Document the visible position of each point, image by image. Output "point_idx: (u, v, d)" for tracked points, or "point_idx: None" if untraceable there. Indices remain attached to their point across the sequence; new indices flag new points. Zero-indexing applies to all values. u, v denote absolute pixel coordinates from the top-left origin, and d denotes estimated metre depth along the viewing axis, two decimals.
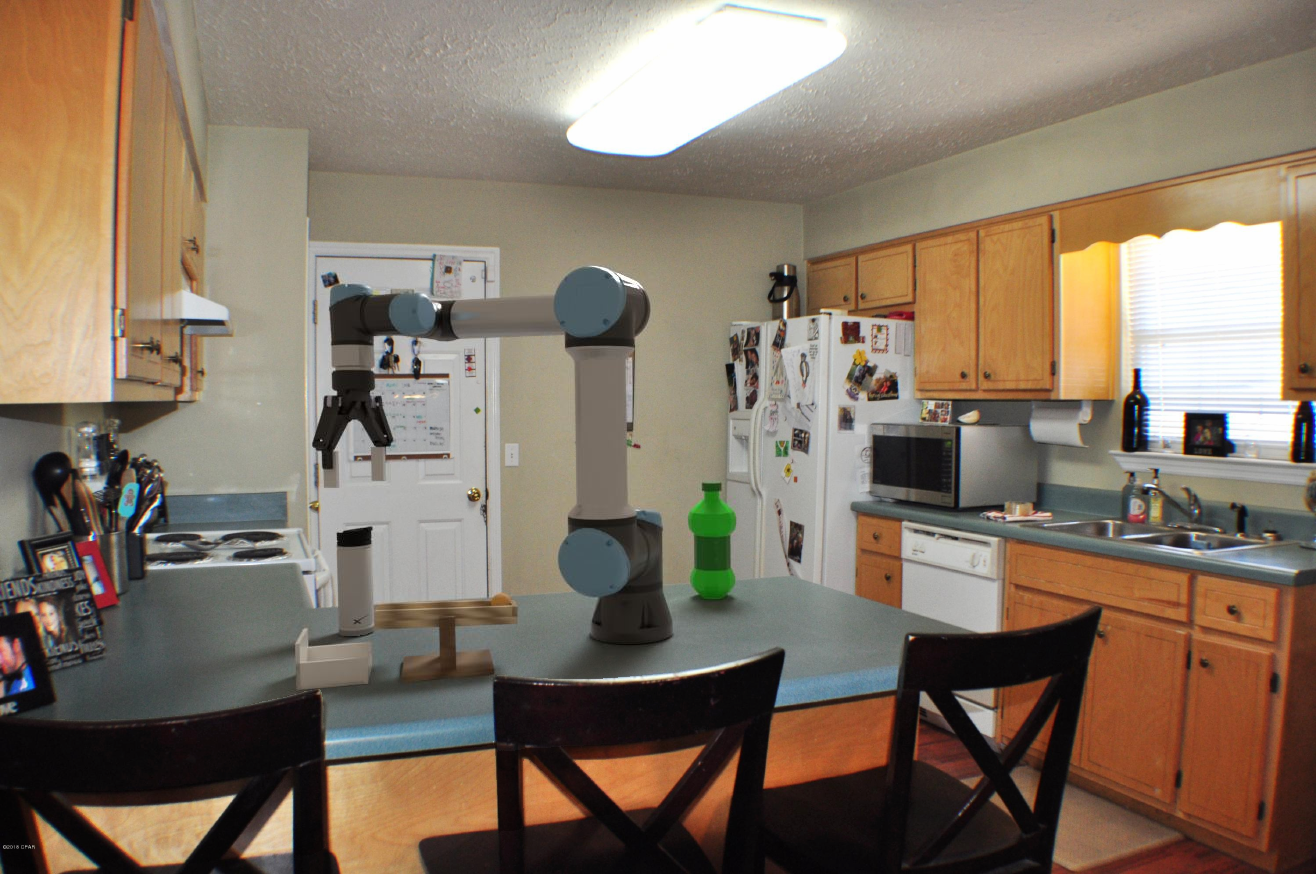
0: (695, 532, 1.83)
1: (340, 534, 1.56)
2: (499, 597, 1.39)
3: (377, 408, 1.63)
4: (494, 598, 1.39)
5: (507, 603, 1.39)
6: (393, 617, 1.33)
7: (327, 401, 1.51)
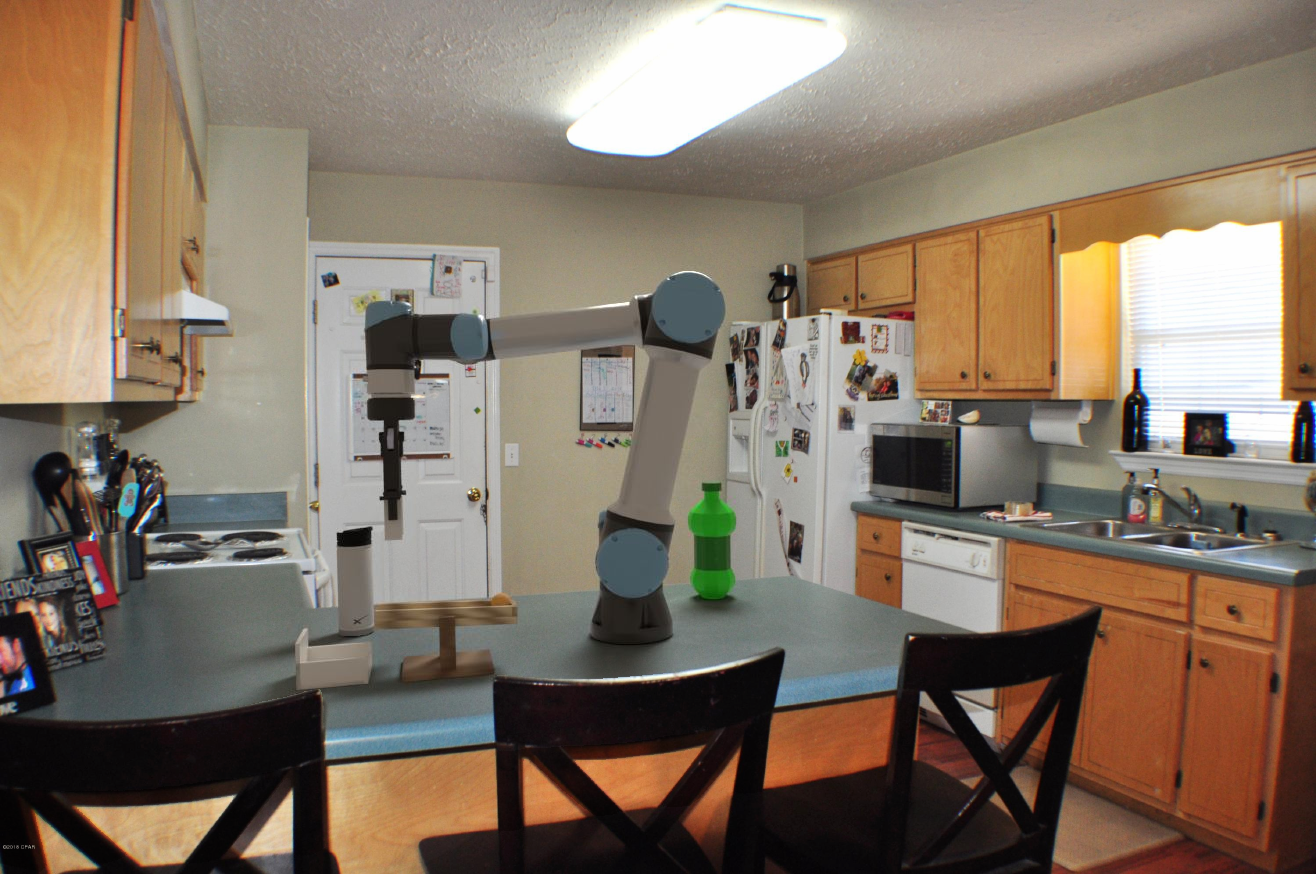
0: (695, 532, 1.83)
1: (340, 534, 1.56)
2: (499, 597, 1.39)
3: None
4: (494, 598, 1.39)
5: (507, 603, 1.39)
6: (393, 617, 1.33)
7: (388, 444, 1.34)
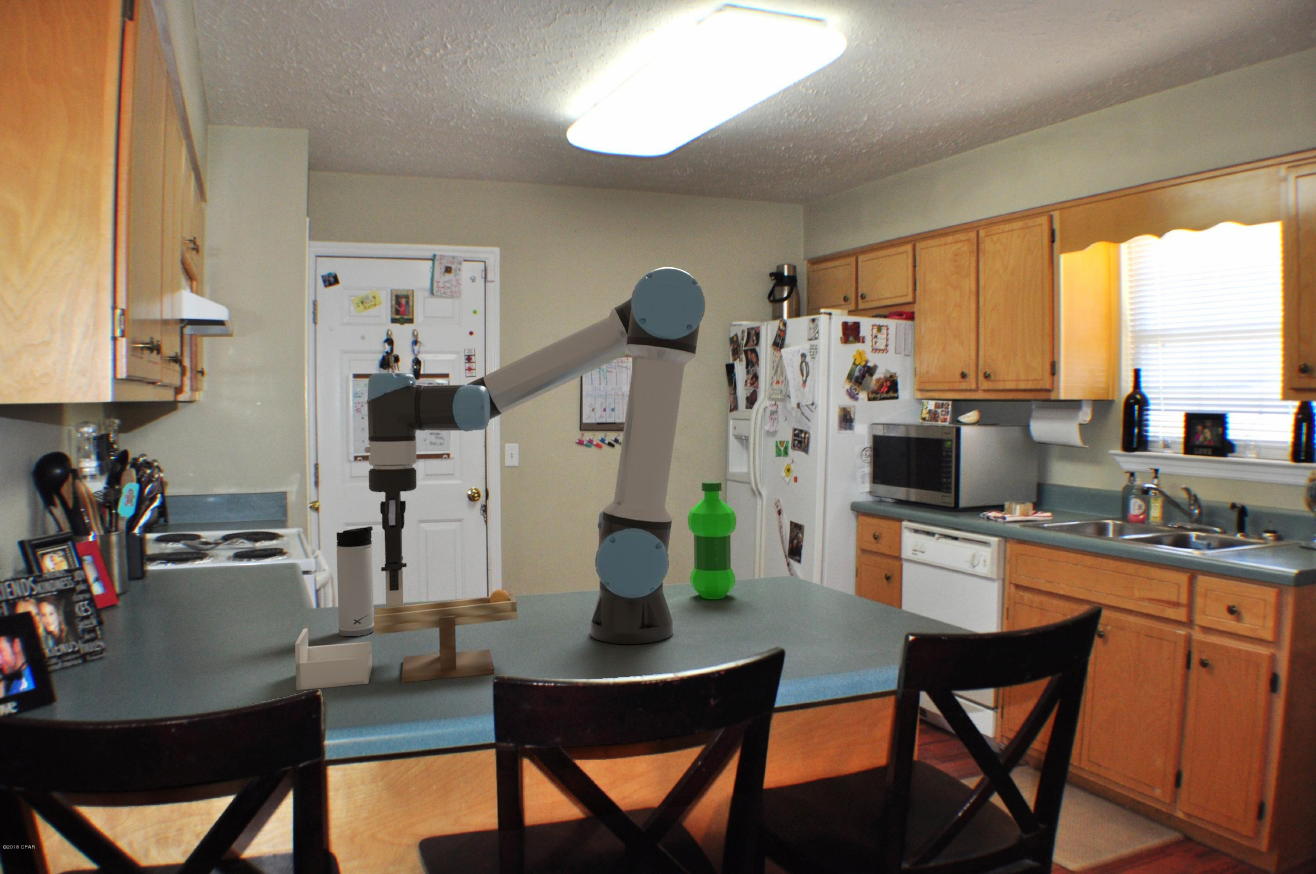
0: (695, 532, 1.83)
1: (340, 534, 1.56)
2: (498, 593, 1.39)
3: None
4: (492, 595, 1.39)
5: (506, 599, 1.39)
6: (393, 621, 1.33)
7: (389, 521, 1.35)
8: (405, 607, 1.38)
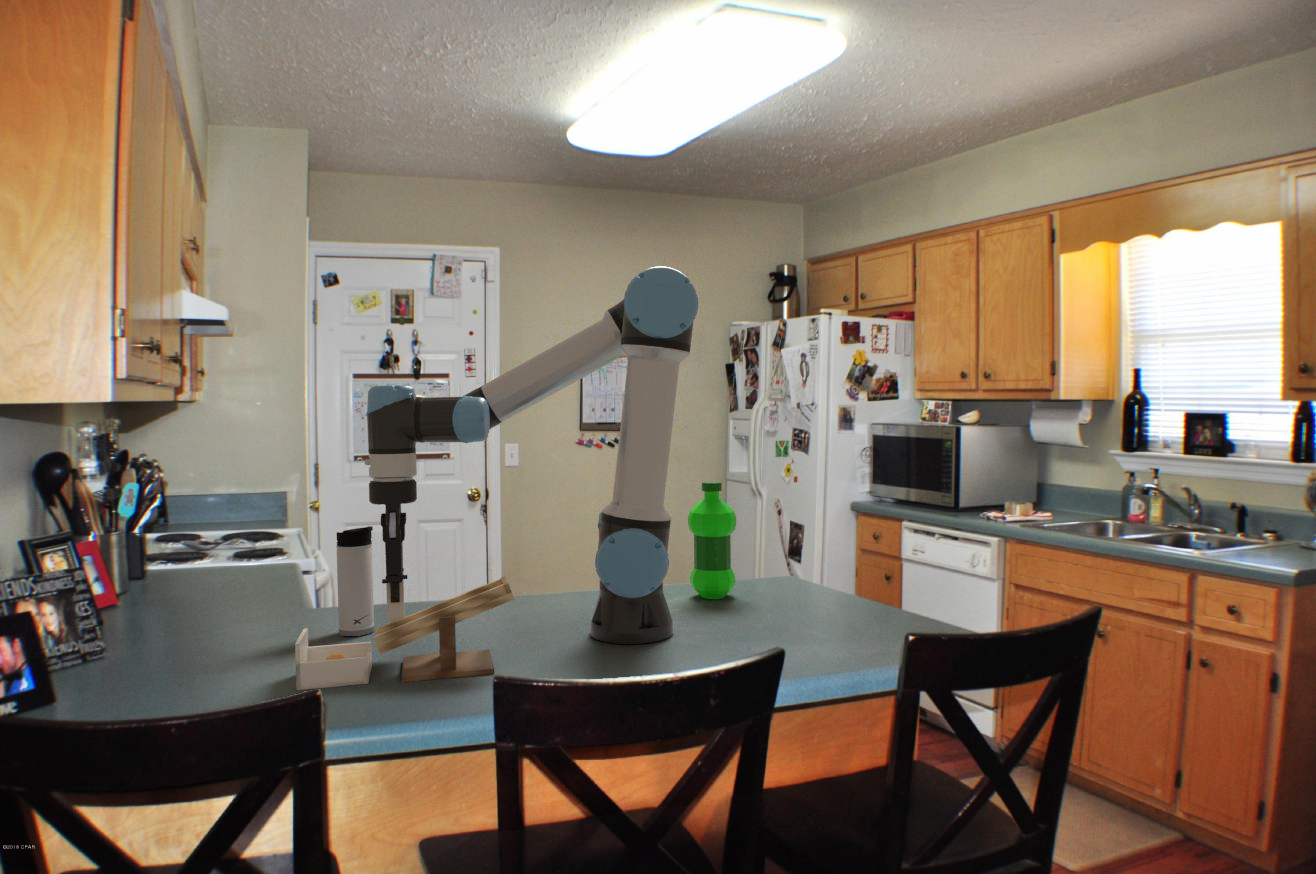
0: (695, 532, 1.83)
1: (340, 534, 1.56)
2: (332, 658, 1.32)
3: None
4: (327, 659, 1.32)
5: None
6: (394, 636, 1.33)
7: (390, 534, 1.35)
8: (404, 619, 1.38)
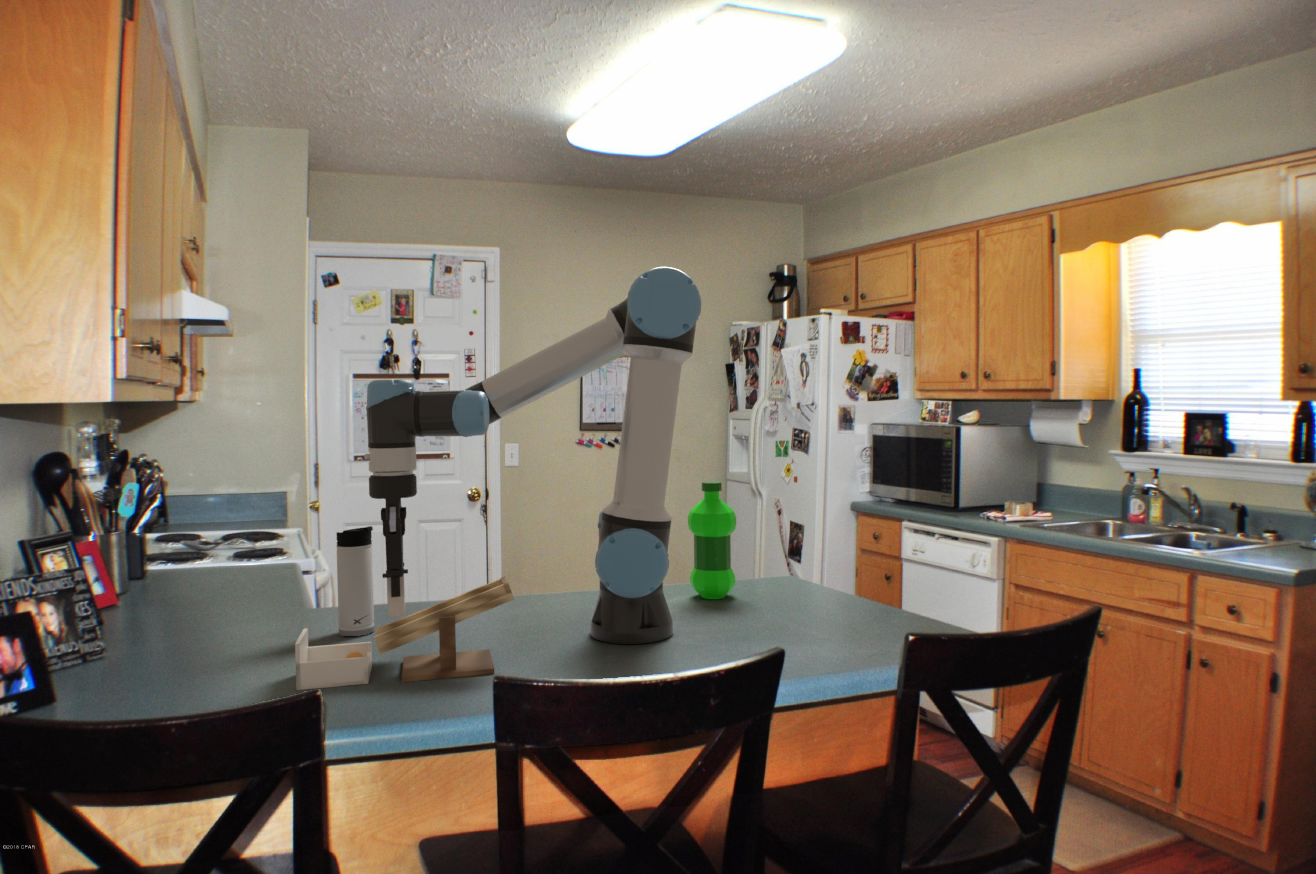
0: (695, 532, 1.83)
1: (340, 534, 1.56)
2: None
3: None
4: None
5: None
6: (394, 636, 1.33)
7: (390, 528, 1.35)
8: (404, 619, 1.38)
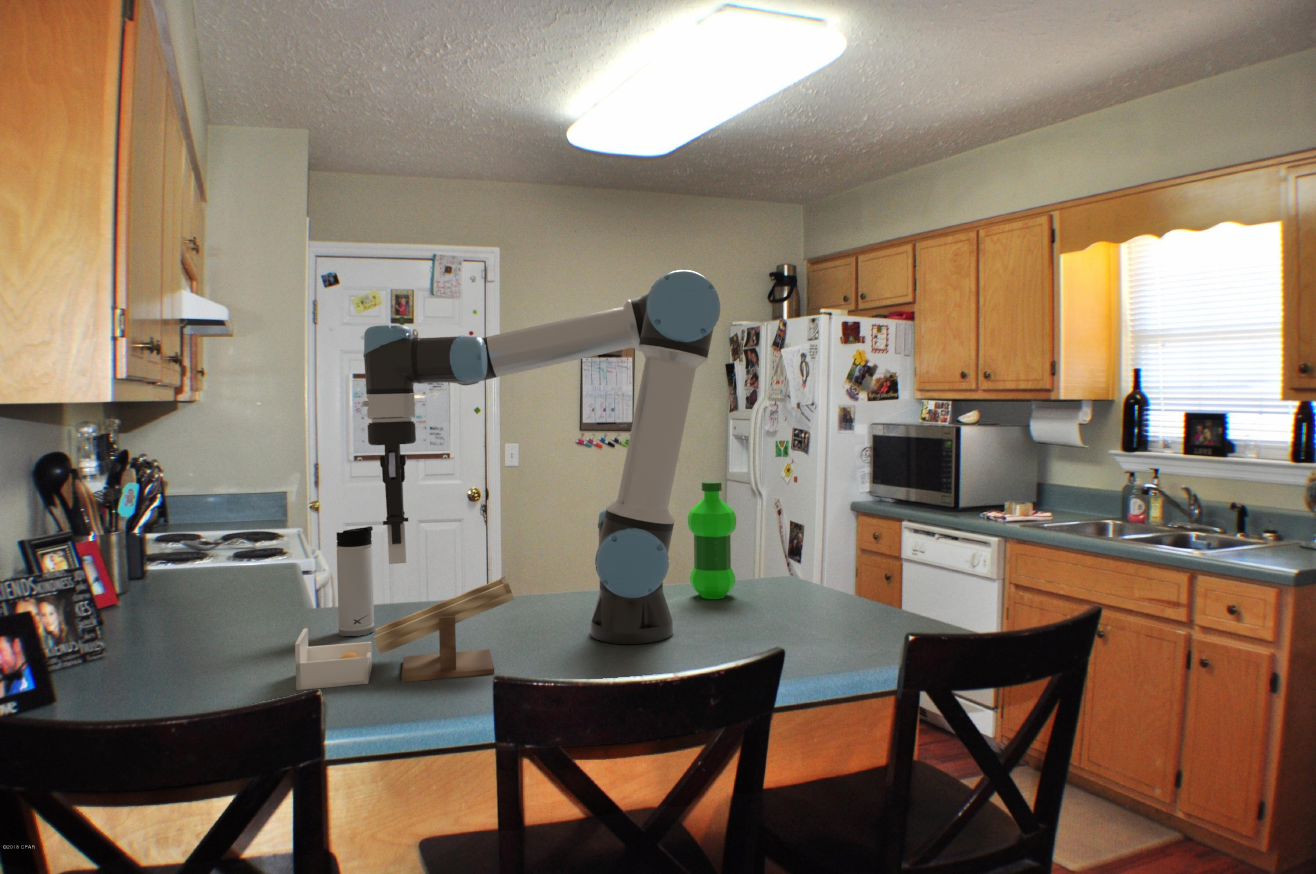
0: (695, 532, 1.83)
1: (340, 534, 1.56)
2: None
3: None
4: (354, 655, 1.33)
5: None
6: (394, 636, 1.33)
7: (390, 473, 1.35)
8: (404, 619, 1.38)
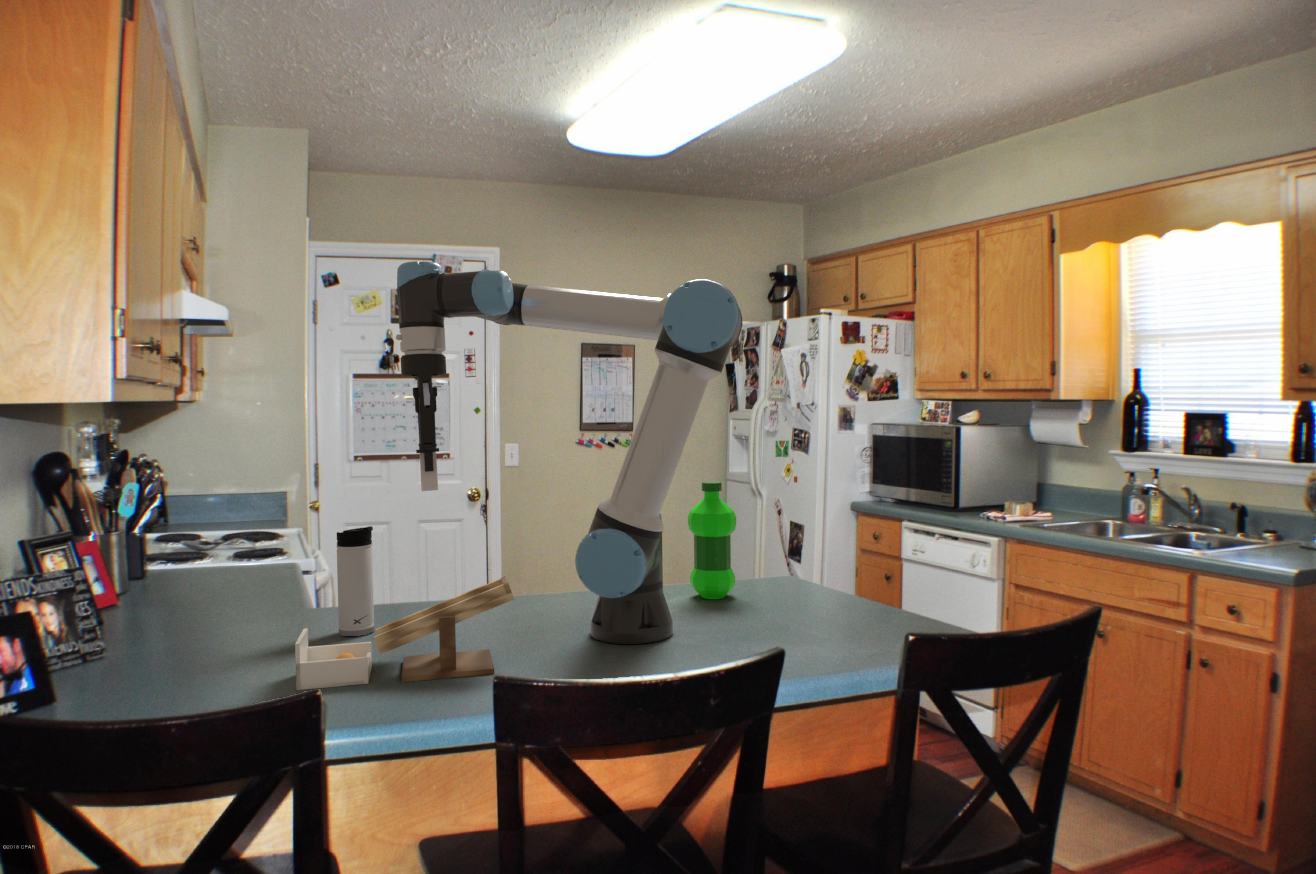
0: (695, 532, 1.83)
1: (340, 534, 1.56)
2: None
3: None
4: (345, 655, 1.33)
5: None
6: (394, 636, 1.33)
7: (424, 401, 1.41)
8: (404, 619, 1.38)
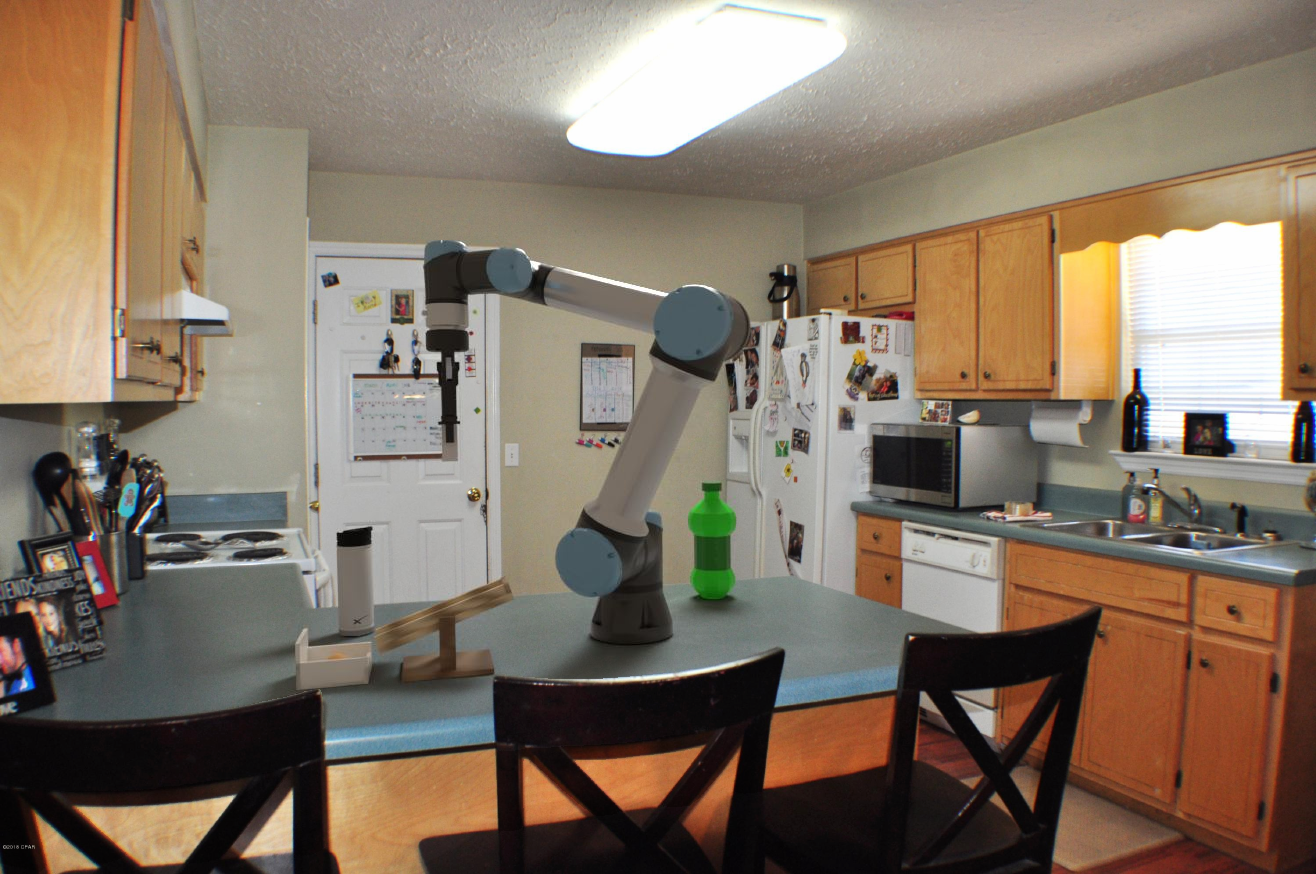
0: (695, 532, 1.83)
1: (340, 534, 1.56)
2: (335, 658, 1.32)
3: None
4: (330, 658, 1.33)
5: None
6: (394, 636, 1.33)
7: (447, 374, 1.47)
8: (404, 619, 1.38)
